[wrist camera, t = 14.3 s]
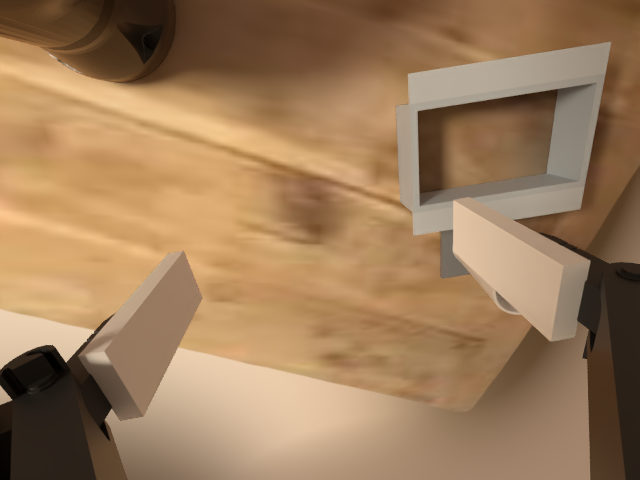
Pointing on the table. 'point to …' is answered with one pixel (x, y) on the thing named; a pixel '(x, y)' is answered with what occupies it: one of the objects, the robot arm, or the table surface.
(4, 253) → the table surface
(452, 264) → the pad
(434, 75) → the rectangular frame
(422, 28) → the table surface
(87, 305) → the table surface
